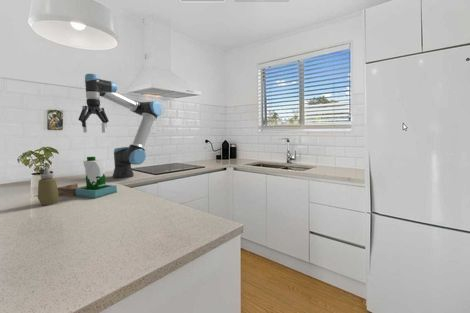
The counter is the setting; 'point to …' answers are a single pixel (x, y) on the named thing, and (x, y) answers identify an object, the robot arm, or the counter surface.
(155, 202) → the counter surface
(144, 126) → the robot arm
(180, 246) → the counter surface
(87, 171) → the soya milk
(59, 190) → the dock
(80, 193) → the tray
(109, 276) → the counter surface
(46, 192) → the squeeze bottle
